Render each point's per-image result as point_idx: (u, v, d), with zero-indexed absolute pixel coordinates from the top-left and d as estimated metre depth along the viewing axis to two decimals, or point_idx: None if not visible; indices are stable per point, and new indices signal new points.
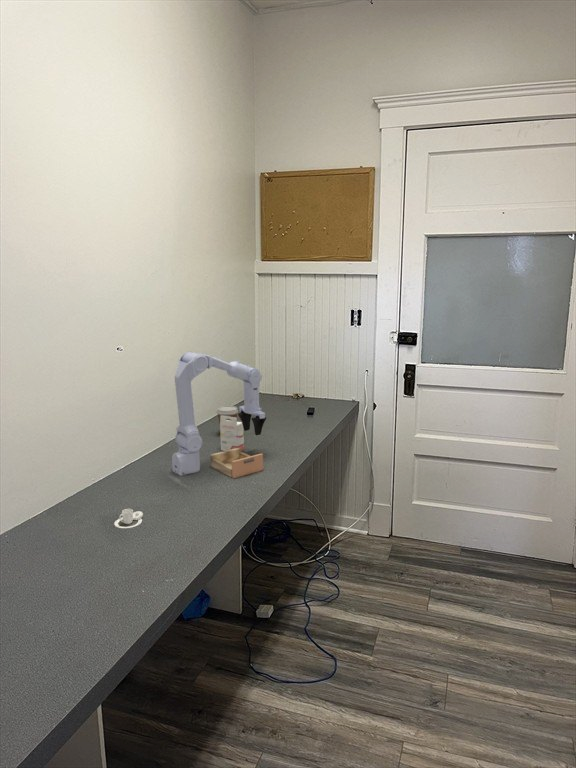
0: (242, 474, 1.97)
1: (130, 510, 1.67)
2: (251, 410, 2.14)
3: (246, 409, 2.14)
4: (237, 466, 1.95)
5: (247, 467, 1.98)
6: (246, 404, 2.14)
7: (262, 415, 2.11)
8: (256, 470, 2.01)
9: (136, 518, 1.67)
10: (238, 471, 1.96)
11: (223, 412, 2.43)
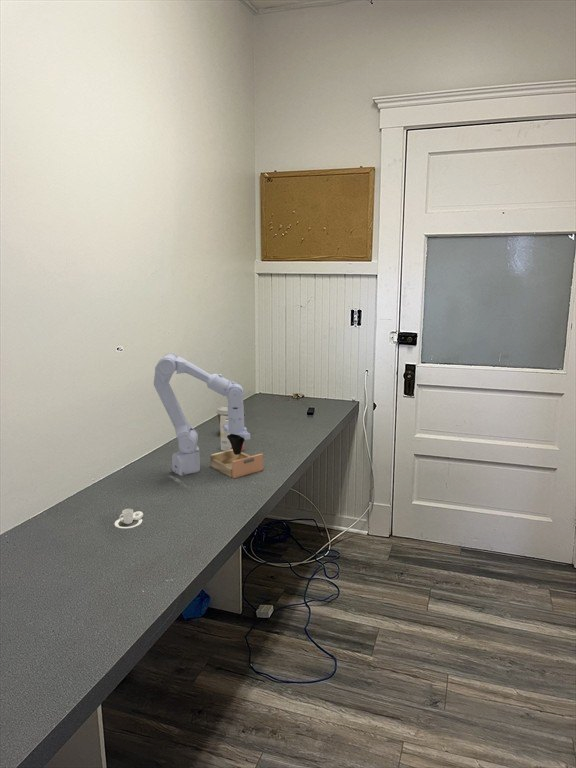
0: (242, 474, 1.97)
1: (130, 510, 1.67)
2: (235, 430, 1.99)
3: (230, 429, 1.99)
4: (237, 466, 1.95)
5: (247, 467, 1.98)
6: (230, 424, 1.99)
7: (247, 436, 1.96)
8: (256, 470, 2.01)
9: (136, 518, 1.67)
10: (238, 471, 1.96)
11: (223, 412, 2.43)
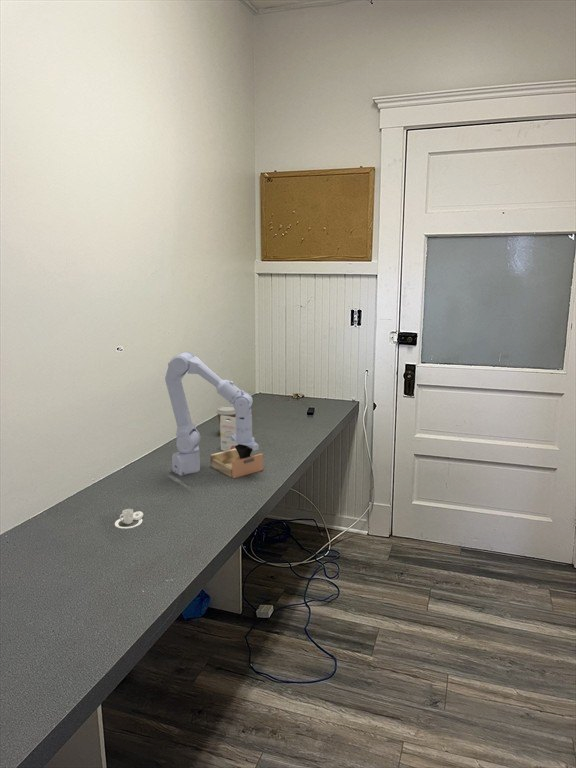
0: (242, 474, 1.97)
1: (130, 510, 1.67)
2: (243, 441, 1.95)
3: (238, 439, 1.96)
4: (237, 466, 1.95)
5: (247, 467, 1.98)
6: (238, 434, 1.96)
7: (255, 447, 1.93)
8: (256, 470, 2.01)
9: (136, 518, 1.67)
10: (238, 471, 1.96)
11: (223, 412, 2.43)
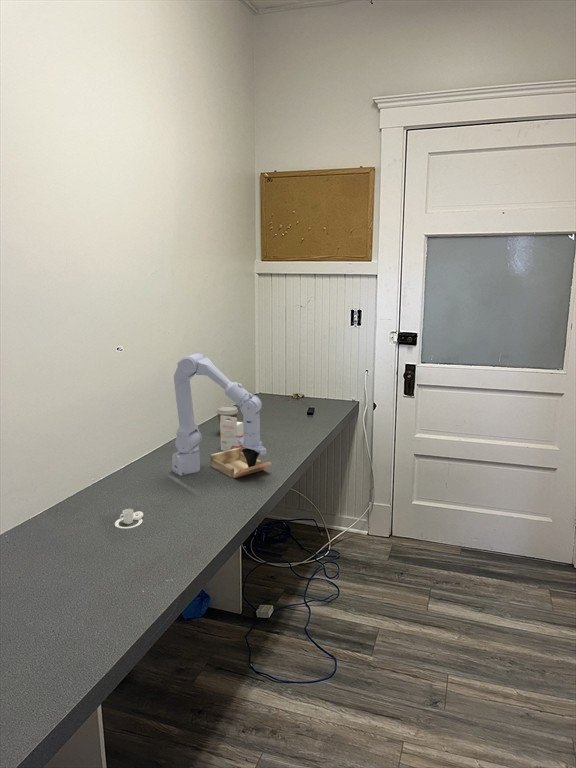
0: (243, 475, 1.97)
1: (130, 510, 1.67)
2: (251, 445, 1.92)
3: (245, 443, 1.93)
4: (242, 473, 1.93)
5: (250, 471, 1.97)
6: (245, 438, 1.92)
7: (263, 451, 1.89)
8: (257, 471, 2.01)
9: (136, 518, 1.67)
10: (241, 475, 1.95)
11: (223, 412, 2.43)
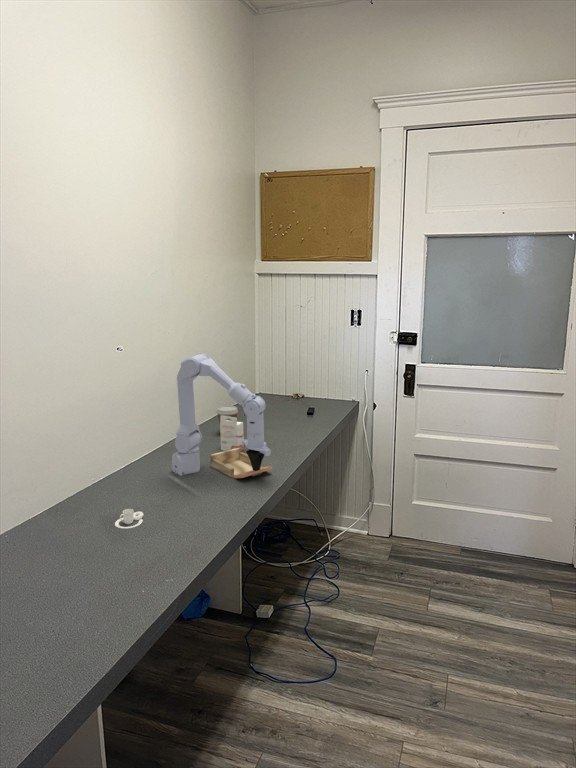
0: None
1: (131, 510, 1.67)
2: (255, 446, 1.90)
3: (249, 445, 1.91)
4: None
5: None
6: (249, 439, 1.90)
7: (267, 452, 1.87)
8: None
9: (137, 518, 1.67)
10: None
11: (223, 412, 2.43)
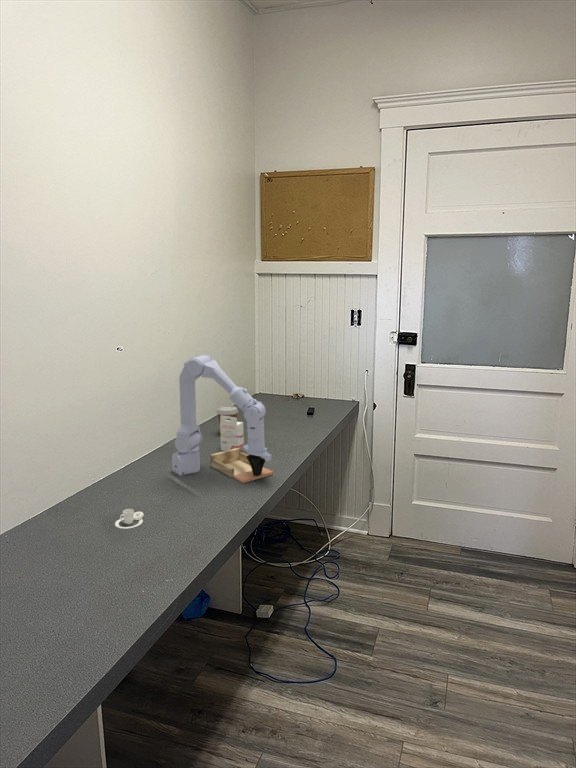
0: None
1: (131, 510, 1.67)
2: (256, 451, 1.90)
3: (250, 450, 1.91)
4: None
5: None
6: (250, 444, 1.91)
7: (268, 457, 1.88)
8: None
9: (137, 518, 1.67)
10: None
11: (223, 412, 2.43)
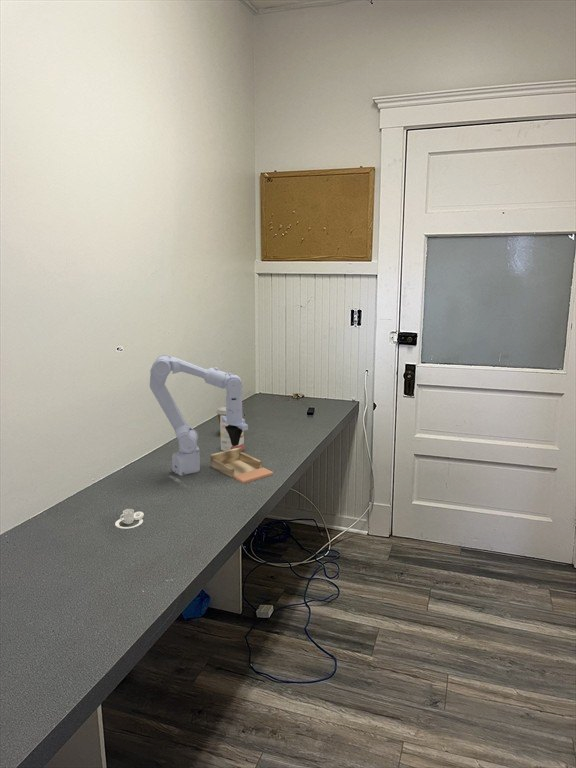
0: None
1: (131, 510, 1.67)
2: (233, 421, 1.99)
3: (228, 420, 1.99)
4: None
5: None
6: (228, 415, 1.99)
7: (245, 427, 1.96)
8: None
9: (137, 518, 1.67)
10: None
11: (223, 412, 2.43)
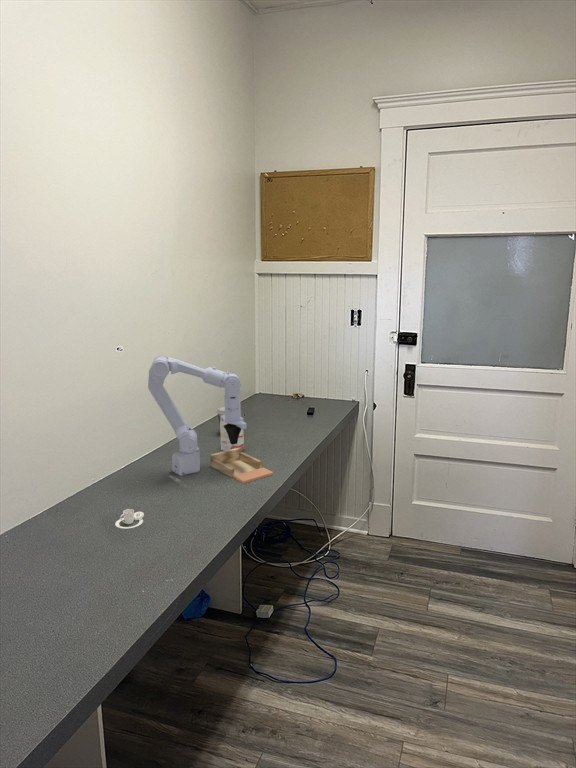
0: None
1: (131, 510, 1.67)
2: (232, 420, 1.99)
3: (227, 419, 2.00)
4: None
5: None
6: (227, 413, 2.00)
7: (243, 425, 1.97)
8: None
9: (137, 518, 1.67)
10: None
11: (223, 412, 2.43)
